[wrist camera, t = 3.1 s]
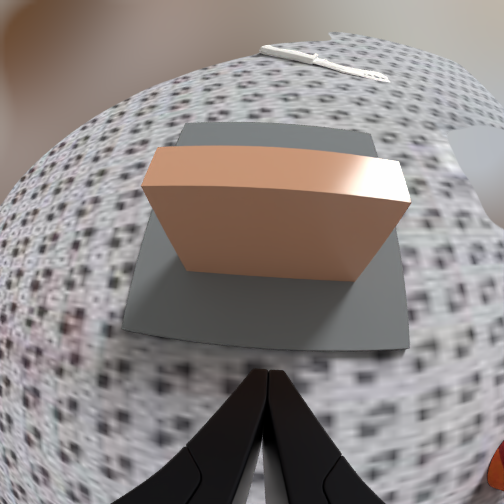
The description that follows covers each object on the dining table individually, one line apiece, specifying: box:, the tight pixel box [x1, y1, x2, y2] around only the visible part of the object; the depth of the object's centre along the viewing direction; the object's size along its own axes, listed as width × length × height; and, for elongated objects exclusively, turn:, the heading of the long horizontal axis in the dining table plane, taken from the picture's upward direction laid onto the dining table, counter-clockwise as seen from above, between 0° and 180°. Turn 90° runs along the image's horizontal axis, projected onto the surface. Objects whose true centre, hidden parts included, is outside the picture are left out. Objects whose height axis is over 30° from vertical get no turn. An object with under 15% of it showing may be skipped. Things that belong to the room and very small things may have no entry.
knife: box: [260, 45, 390, 82], centre depth 39 cm, size 31×6×2 cm, turn 74°
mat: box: [121, 122, 410, 351], centre depth 24 cm, size 24×22×1 cm
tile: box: [141, 146, 411, 282], centre depth 17 cm, size 3×13×10 cm, turn 85°
